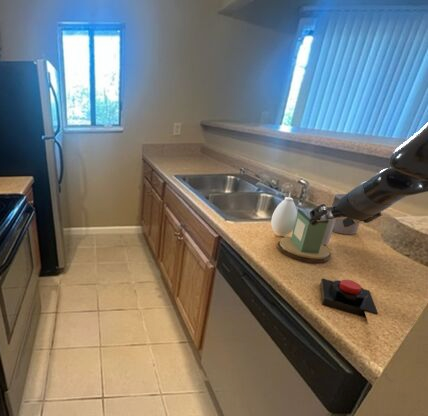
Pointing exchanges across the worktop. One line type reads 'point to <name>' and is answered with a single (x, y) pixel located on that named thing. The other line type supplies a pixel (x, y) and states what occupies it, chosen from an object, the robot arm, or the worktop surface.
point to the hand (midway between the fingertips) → (328, 223)
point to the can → (328, 231)
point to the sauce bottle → (284, 217)
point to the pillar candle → (339, 222)
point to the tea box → (306, 237)
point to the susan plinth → (302, 259)
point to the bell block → (346, 299)
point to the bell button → (350, 286)
